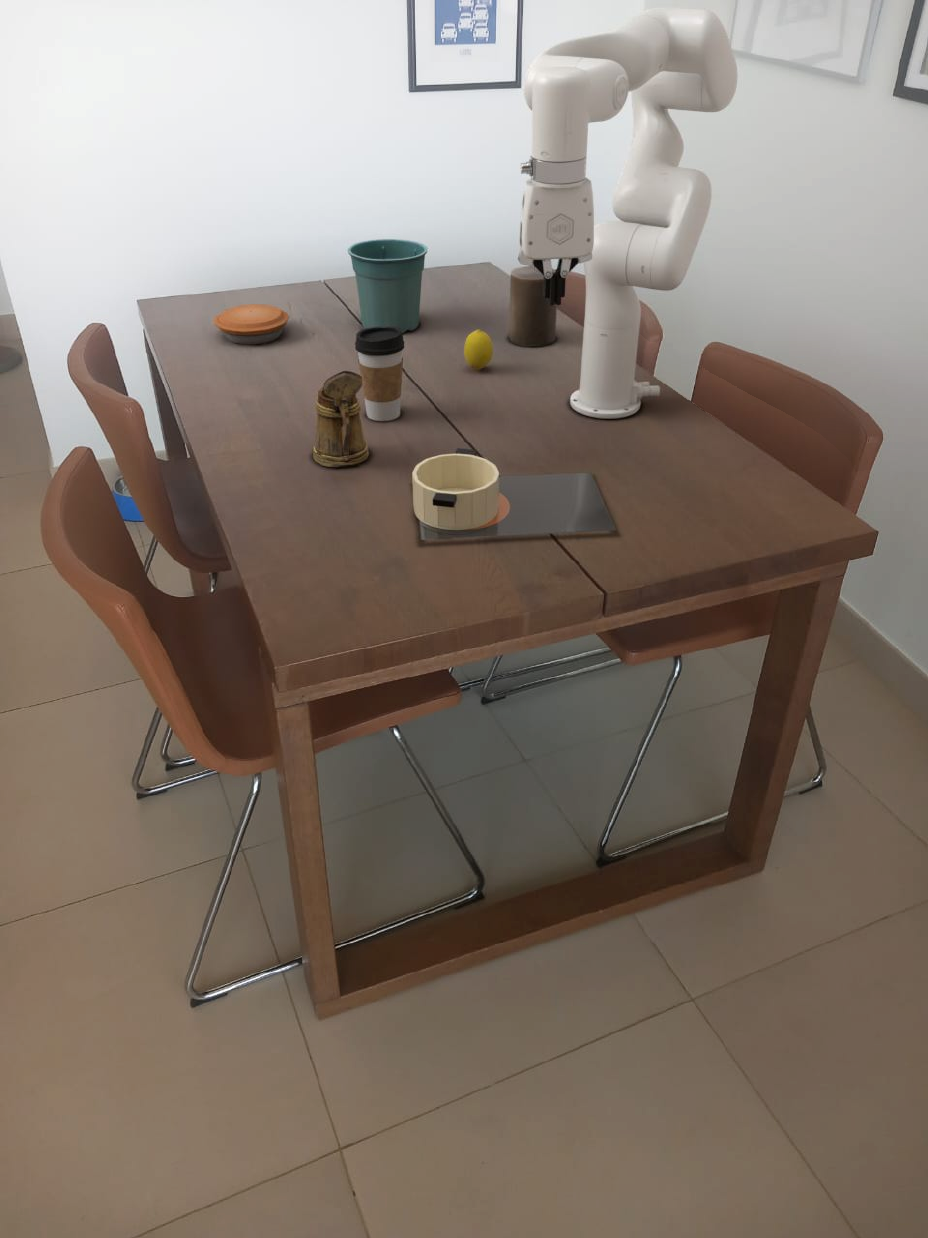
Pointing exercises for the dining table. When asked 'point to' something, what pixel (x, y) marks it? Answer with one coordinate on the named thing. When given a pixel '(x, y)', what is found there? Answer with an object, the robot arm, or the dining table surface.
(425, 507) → the pot
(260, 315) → the pie
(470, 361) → the lemon
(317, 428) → the wooden mug
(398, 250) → the flower pot
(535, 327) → the pillar candle
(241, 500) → the dining table surface
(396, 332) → the coffee cup
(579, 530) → the cooktop
